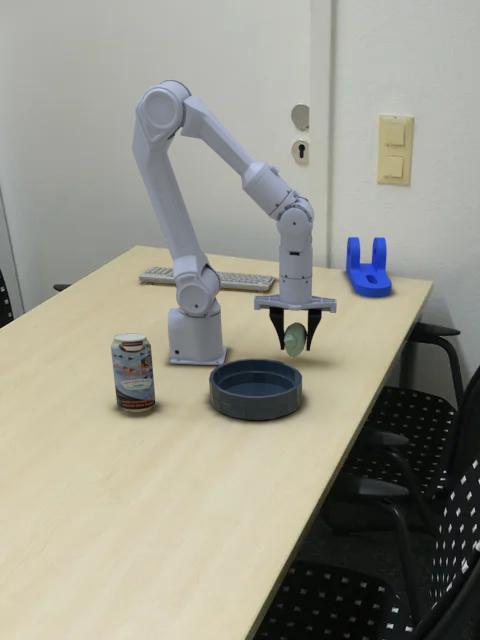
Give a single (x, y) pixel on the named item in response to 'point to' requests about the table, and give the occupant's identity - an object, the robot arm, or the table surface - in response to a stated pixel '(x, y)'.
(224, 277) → the keyboard
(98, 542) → the table surface
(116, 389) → the beverage can
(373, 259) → the bracket
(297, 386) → the bowl
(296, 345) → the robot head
